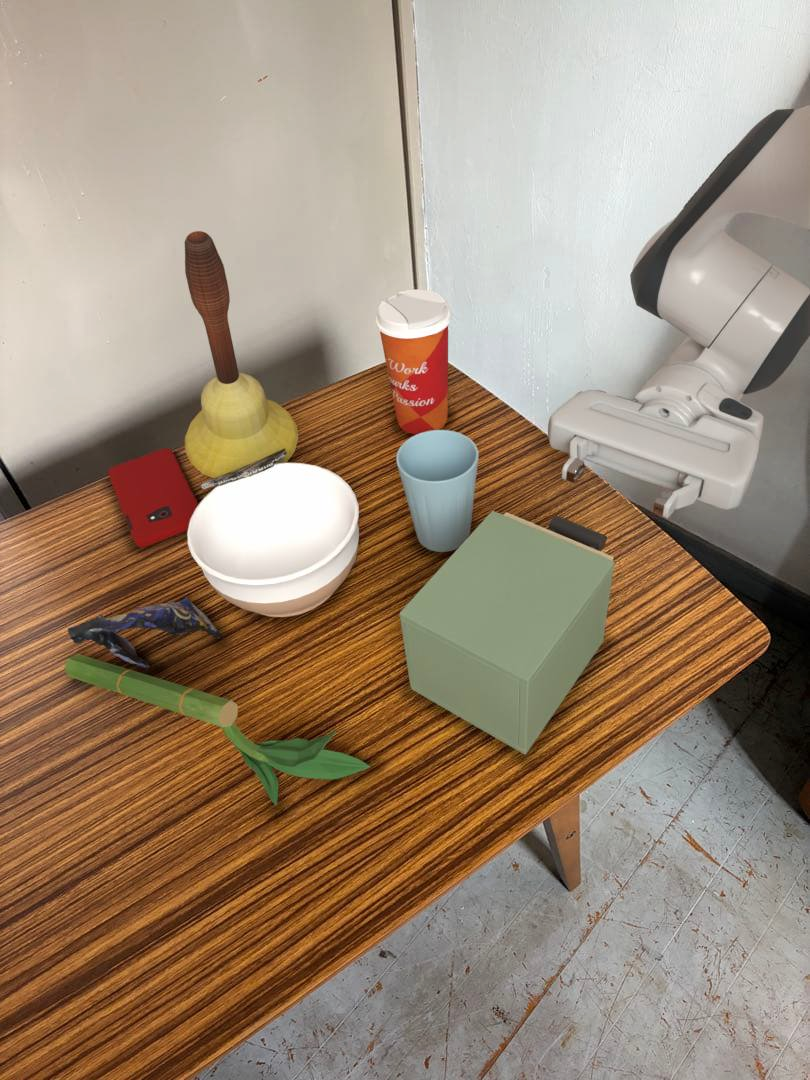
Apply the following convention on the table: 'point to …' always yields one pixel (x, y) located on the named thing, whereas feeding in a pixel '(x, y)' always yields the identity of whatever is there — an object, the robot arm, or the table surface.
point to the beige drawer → (571, 534)
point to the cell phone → (153, 496)
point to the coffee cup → (416, 357)
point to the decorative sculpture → (246, 470)
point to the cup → (439, 486)
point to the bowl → (277, 538)
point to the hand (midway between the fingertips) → (613, 493)
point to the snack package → (160, 616)
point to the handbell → (228, 382)
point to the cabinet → (507, 628)
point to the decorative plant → (221, 724)
